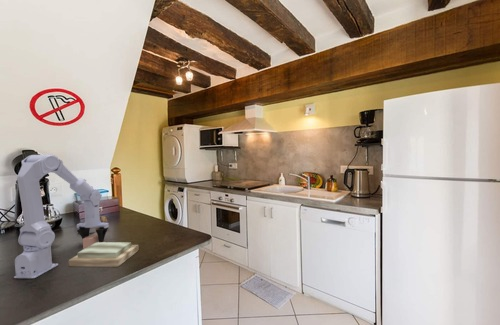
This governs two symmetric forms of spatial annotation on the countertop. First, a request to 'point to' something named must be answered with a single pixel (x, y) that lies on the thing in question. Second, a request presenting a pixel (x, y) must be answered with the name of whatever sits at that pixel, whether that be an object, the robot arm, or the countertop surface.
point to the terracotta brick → (90, 240)
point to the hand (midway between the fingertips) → (93, 242)
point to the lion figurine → (102, 219)
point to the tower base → (104, 260)
